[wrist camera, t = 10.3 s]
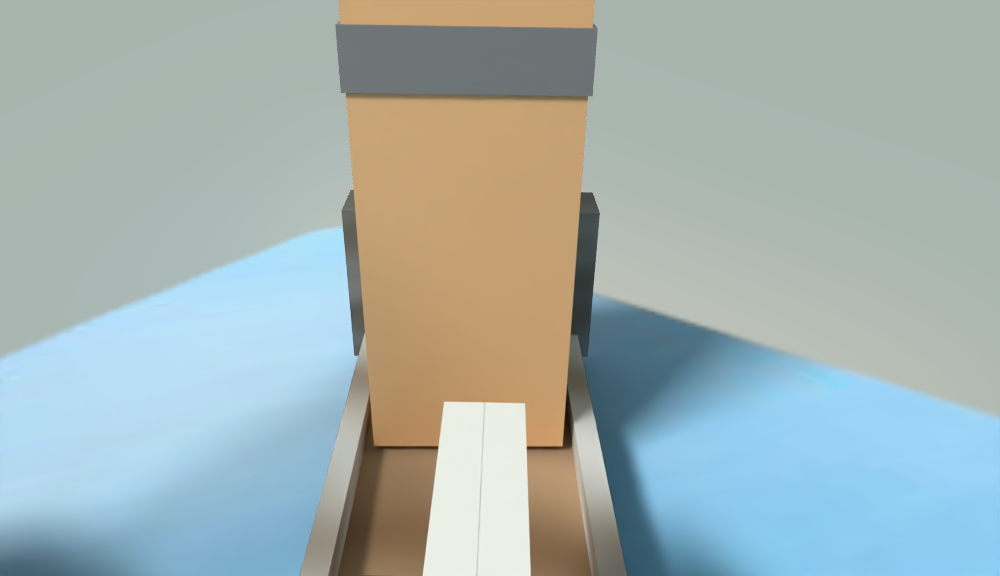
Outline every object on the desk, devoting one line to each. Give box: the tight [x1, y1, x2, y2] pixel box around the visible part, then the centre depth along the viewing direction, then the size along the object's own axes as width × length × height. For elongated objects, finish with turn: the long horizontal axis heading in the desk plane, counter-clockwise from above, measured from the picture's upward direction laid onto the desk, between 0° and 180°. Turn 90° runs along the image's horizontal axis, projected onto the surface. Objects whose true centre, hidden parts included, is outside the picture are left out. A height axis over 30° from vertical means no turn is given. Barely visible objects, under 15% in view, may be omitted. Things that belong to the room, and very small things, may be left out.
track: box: [300, 190, 627, 576], centre depth 19 cm, size 24×9×7 cm, turn 1°
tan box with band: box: [336, 0, 597, 446], centre depth 22 cm, size 5×6×16 cm
